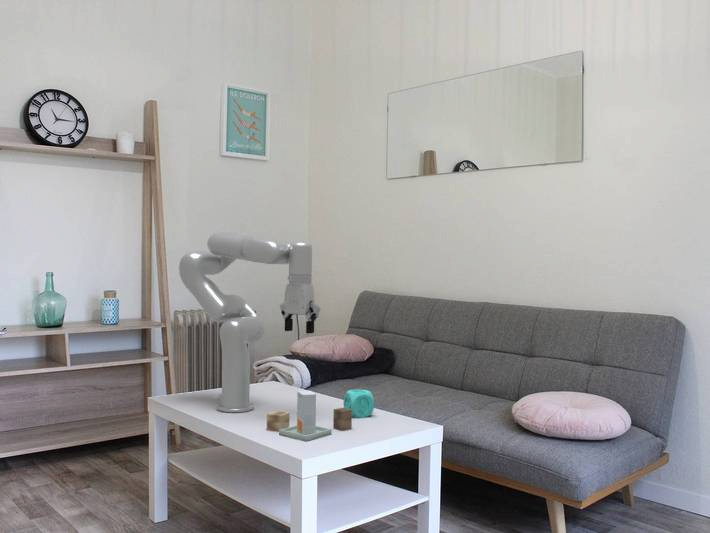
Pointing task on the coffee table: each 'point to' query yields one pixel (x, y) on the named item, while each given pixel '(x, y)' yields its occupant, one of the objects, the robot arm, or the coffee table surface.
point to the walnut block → (342, 419)
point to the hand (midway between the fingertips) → (299, 332)
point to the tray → (296, 434)
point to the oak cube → (277, 420)
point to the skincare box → (306, 412)
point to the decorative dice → (359, 402)
